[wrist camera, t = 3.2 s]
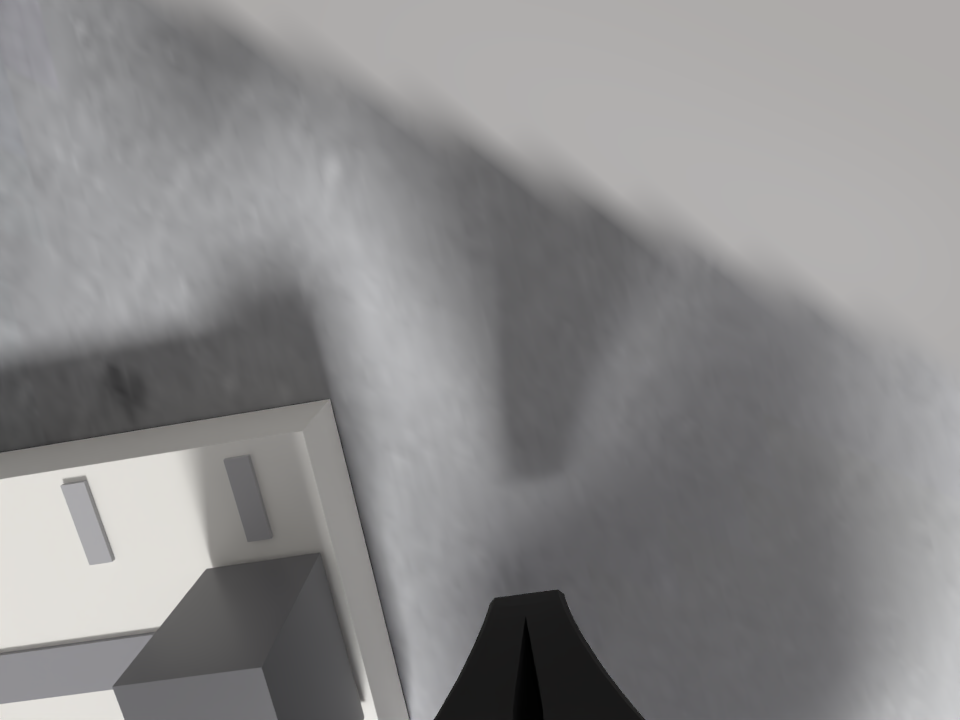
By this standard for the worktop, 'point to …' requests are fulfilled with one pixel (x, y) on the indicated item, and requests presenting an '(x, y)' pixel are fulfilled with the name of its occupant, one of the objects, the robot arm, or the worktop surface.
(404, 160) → the worktop surface
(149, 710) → the fader knob
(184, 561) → the console
